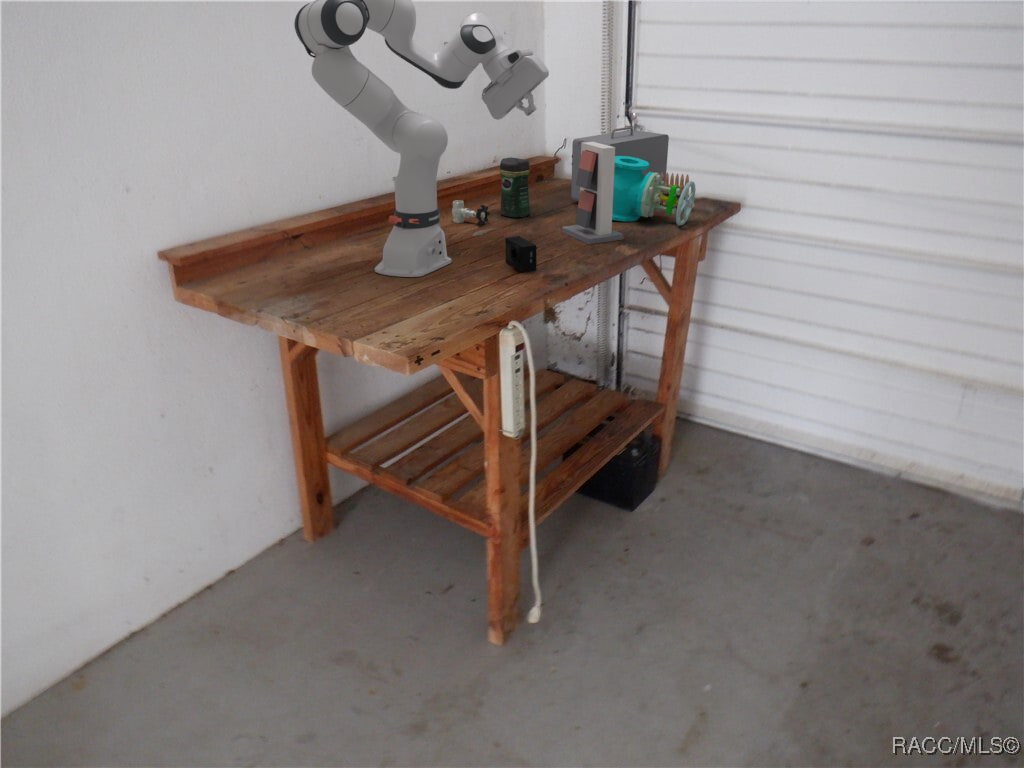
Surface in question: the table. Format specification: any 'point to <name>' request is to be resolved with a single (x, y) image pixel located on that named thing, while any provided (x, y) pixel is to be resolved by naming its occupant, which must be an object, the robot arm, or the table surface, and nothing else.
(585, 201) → the lower rocker
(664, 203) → the ammunition clip
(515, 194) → the coffee jar
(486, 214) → the valve
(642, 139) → the vintage electronic device
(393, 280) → the table surface
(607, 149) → the tower
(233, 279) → the table surface
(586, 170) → the upper rocker
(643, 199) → the valve
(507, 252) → the digital camera
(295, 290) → the table surface
